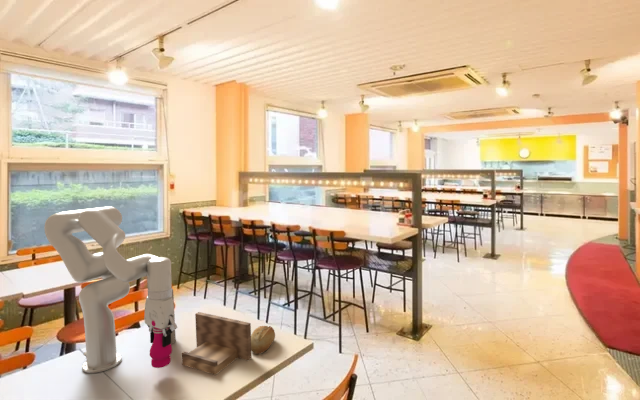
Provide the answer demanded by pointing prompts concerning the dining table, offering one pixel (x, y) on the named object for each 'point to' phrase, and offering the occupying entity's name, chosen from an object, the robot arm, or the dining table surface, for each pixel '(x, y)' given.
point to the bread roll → (262, 339)
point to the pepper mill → (159, 349)
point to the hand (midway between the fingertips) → (160, 342)
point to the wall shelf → (218, 343)
